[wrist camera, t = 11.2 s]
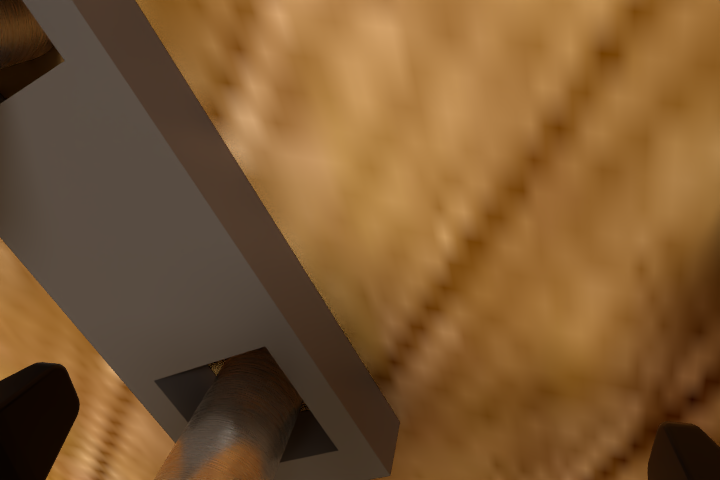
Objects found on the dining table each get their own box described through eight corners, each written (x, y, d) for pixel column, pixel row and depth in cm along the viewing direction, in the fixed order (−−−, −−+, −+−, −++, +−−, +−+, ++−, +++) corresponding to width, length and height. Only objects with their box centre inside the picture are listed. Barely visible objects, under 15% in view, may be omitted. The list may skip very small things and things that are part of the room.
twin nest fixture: (-13, -235, 17) (-103, -261, 14) (399, 422, 27) (390, 475, 24) (-167, -73, 20) (-261, -70, 18) (250, 455, 30) (227, 504, 28)
